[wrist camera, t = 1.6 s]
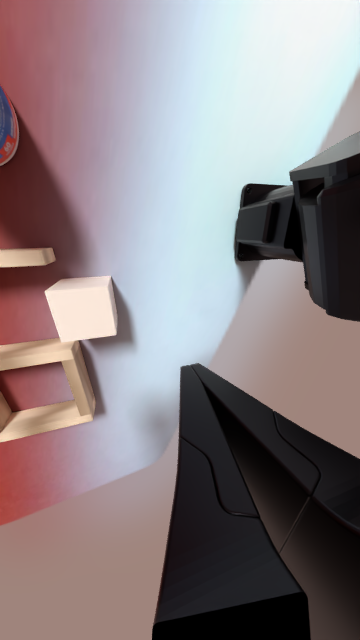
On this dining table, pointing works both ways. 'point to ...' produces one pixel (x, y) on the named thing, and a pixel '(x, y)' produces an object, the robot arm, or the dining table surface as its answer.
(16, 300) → the dining table surface
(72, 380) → the caddy
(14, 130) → the pill bottle
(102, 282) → the cream block
